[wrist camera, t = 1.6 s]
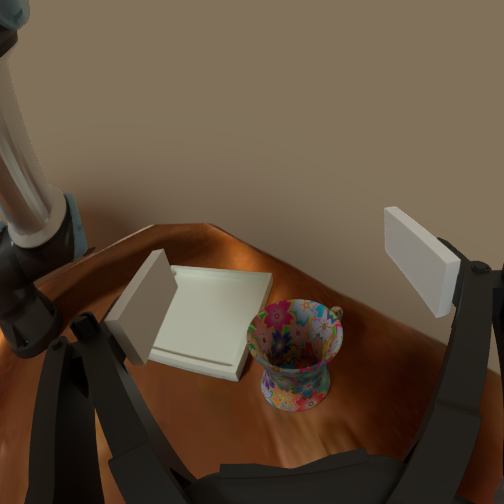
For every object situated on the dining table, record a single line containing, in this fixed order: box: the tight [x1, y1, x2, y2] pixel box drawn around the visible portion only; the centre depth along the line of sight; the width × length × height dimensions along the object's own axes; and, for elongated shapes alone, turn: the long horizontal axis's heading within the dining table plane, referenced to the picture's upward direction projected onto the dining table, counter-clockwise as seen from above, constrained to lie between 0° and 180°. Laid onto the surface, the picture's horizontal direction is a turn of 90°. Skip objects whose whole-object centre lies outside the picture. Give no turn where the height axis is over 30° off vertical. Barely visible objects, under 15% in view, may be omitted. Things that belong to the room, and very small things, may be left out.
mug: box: [247, 299, 343, 412], centre depth 29 cm, size 12×9×11 cm
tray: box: [148, 265, 273, 382], centre depth 43 cm, size 20×20×2 cm
